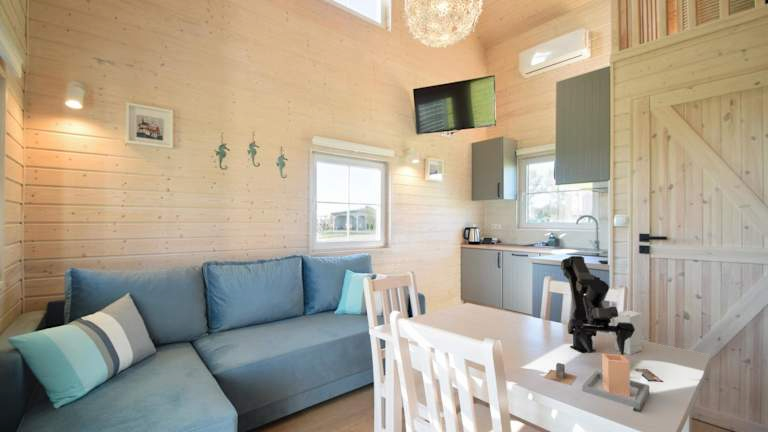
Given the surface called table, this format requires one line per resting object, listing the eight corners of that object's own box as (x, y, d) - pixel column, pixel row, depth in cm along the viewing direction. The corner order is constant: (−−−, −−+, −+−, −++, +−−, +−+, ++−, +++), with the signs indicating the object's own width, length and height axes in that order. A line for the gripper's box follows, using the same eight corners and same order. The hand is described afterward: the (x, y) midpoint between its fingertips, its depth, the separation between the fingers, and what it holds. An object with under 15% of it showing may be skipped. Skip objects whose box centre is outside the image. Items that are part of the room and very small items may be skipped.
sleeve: (608, 394, 103) (608, 360, 103) (602, 386, 108) (602, 353, 108) (630, 397, 101) (629, 362, 101) (622, 388, 107) (622, 355, 107)
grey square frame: (582, 394, 105) (582, 386, 105) (595, 378, 115) (595, 370, 115) (639, 412, 95) (639, 403, 95) (649, 393, 105) (649, 385, 105)
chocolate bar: (666, 384, 111) (666, 382, 111) (649, 383, 112) (648, 381, 112) (646, 369, 122) (646, 367, 122) (631, 368, 123) (631, 366, 123)
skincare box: (626, 346, 142) (626, 309, 142) (643, 351, 137) (642, 312, 137) (614, 350, 139) (613, 312, 139) (630, 355, 133) (629, 315, 133)
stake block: (543, 380, 114) (543, 365, 114) (550, 372, 120) (550, 357, 120) (571, 388, 109) (570, 372, 109) (577, 379, 115) (576, 363, 115)
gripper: (568, 295, 120) (578, 339, 110) (632, 298, 115) (648, 344, 105) (564, 312, 128) (572, 354, 117) (623, 315, 123) (637, 360, 112)
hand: (606, 353), depth 113 cm, fingers open, 9 cm apart
